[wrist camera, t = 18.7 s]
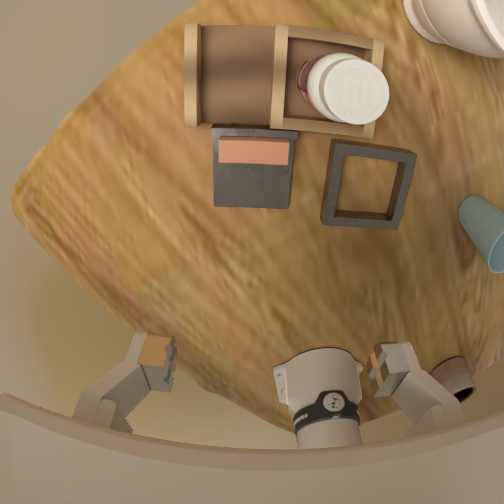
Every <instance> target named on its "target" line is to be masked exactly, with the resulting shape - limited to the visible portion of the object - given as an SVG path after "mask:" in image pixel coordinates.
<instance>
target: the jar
mask: <svg viewBox="0 0 504 504" xmlns="http://www.w3.org/2000/svg"><path fill="white" fill-rule="evenodd" d="M403 6H404V10H405V13H406V16H407V18H408V20H409V22H410V23H411V25H412V26H413V27H414V29H415V30H416V31H417V32H418V33H419V34H420V35H422V36H423V37H424V38H426V39H428V40H429V41H432V42H435V43H439V44H447V45H449V46H451V47H454V48H457V49H461V50H463V51H466V52H469V53H471V54H475V55H479V56H483V57H490V58H504V0H403Z"/></svg>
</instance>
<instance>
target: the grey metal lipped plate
mask: <svg viewBox="0 0 504 504" xmlns="http://www.w3.org/2000/svg"><path fill="white" fill-rule="evenodd" d="M211 136H213V175H214V206H218V207H250V208H275V209H288V204H289V194H290V184H291V174H292V163H293V153H294V141H295V139H298V131H297V130H288V129H272V128H270V125H248V124H213V125H212V127H211ZM220 136H251V137H273V138H288V141H289V154H288V165H276V164H254V163H219V138H220Z"/></svg>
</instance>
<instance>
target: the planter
mask: <svg viewBox="0 0 504 504" xmlns="http://www.w3.org/2000/svg"><path fill="white" fill-rule="evenodd" d="M430 376H431V377H433V378H434V379H435V380H436V381H437V382H438V383H440V384H441V385H442V386H443V387H444V388H445V389H446V390H448V391H449V392H450V393H451V394H452V395H453V396H454V397H456V398H457V399H458V400H459V403H462V402H463V401H465V400H466V399H468V398H469V397H470V396H471V395H472V394H473V393H474V392H475V391H476V385H475V383H474V380H473V378H472V375H471V373H470V371H469V368H468V366H467V363H466V361H465V359H464V358H463V357H453V358H450V359H448V360H446V361H444V362H442V363H441V364H439V365H438V366H437V367H435V368H434V369H433V371H432V372H431V373H430Z"/></svg>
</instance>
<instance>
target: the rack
mask: <svg viewBox="0 0 504 504" xmlns="http://www.w3.org/2000/svg"><path fill="white" fill-rule="evenodd" d="M332 53H347V54H352V55H354V56H357V57H359V58H361V59H362V60H365V61H367V62H369V63H371V64H373V65H374V66H376V67H377V68H378V69H379V70H380V71H381V72H382V65H383V55H384V42H383V41H379V40H375V39H371V38H366V37H362V36H357V35H352V34H347V33H341V32H335V31H329V30H323V29H316V28H308V27H299V26H289V25H277V24H276V25H275V27H269V26H241V25H224V26H201V25H199V24H185V49H184V98H185V128H192V127H198V125H199V124H200V123H258V124H269V125H270V128H272V129H288V130H301V131H312V132H322V133H331V134H340V135H348V136H355V137H363V138H369V139H373V134H374V128H375V121H376V120H374V121H372V122H370V123H367V124H363V125H354V124H349V123H343V122H337V121H334V120H331V119H329V118H327V117H325V116H324V115H322V114H321V113H320V112H318V111H317V110H316V109H314V108H313V107H312V106H311V105H309V104H308V103H307V102H306V101H305V100H304V99H303V98H302V97H301V95H300V93H299V91H298V89H297V85H296V76H297V72H298V70H299V68H300V66H301V65H302V64H303V63H304V62H305V61H306V60H307V59H309V58H310V57H313V56H315V55H320V54H332Z"/></svg>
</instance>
